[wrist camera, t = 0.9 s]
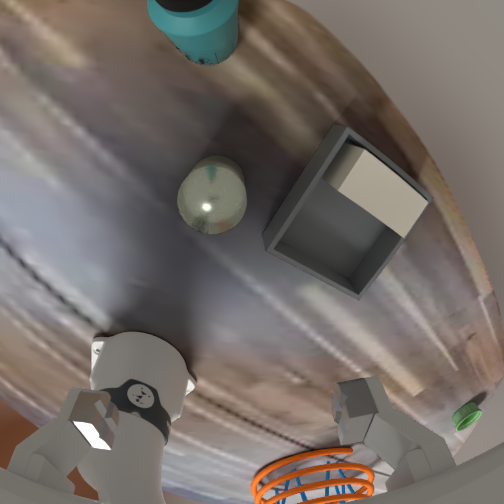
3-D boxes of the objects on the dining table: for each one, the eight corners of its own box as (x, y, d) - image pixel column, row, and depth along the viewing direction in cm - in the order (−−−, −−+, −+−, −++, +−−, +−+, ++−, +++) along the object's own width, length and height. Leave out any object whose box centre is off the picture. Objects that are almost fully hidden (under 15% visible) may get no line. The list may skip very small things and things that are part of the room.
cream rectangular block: (381, 218, 38) (403, 238, 32) (320, 177, 35) (337, 190, 30) (402, 187, 36) (428, 202, 30) (343, 142, 34) (364, 149, 28)
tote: (347, 280, 42) (358, 300, 38) (262, 234, 39) (265, 251, 34) (413, 187, 37) (433, 197, 33) (333, 124, 34) (347, 126, 29)
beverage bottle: (241, 18, 28) (247, -72, 10) (237, 70, 30) (240, 18, 12) (183, 18, 27) (133, -64, 9) (179, 70, 30) (116, 26, 12)
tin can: (227, 217, 38) (225, 245, 30) (180, 192, 36) (165, 214, 29) (254, 171, 36) (260, 188, 28) (206, 145, 34) (197, 154, 26)
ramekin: (445, 422, 66) (450, 433, 62) (461, 402, 62) (468, 414, 58) (464, 417, 67) (470, 427, 63) (480, 397, 63) (487, 408, 59)
